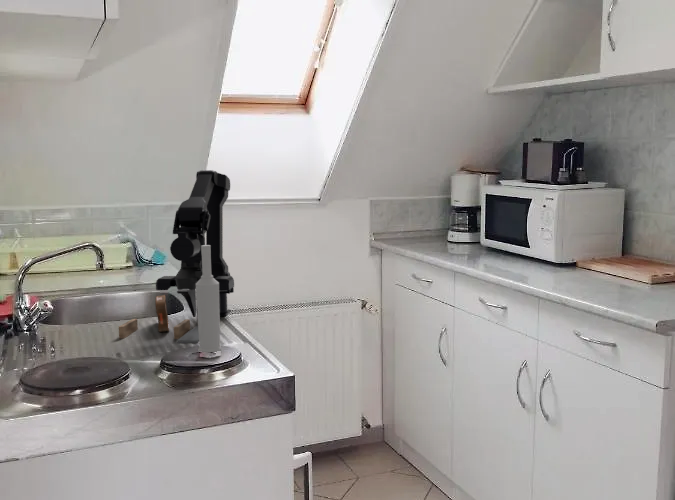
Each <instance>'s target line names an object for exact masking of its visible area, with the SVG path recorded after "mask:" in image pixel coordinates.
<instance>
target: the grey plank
mask: <svg viewBox="0 0 675 500" xmlns="http://www.w3.org/2000/svg"><path fill="white" fill-rule="evenodd" d="M176 342H177V344H178V343H179V344H181V343H183V344H185V343H186V344H199V330H198V324H197V325H196V326H194V327H193V328H192V329H190V331H188V332H187V333H186V334H185V335H184V336H182V337H181V338H180V339H176Z"/></svg>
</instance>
